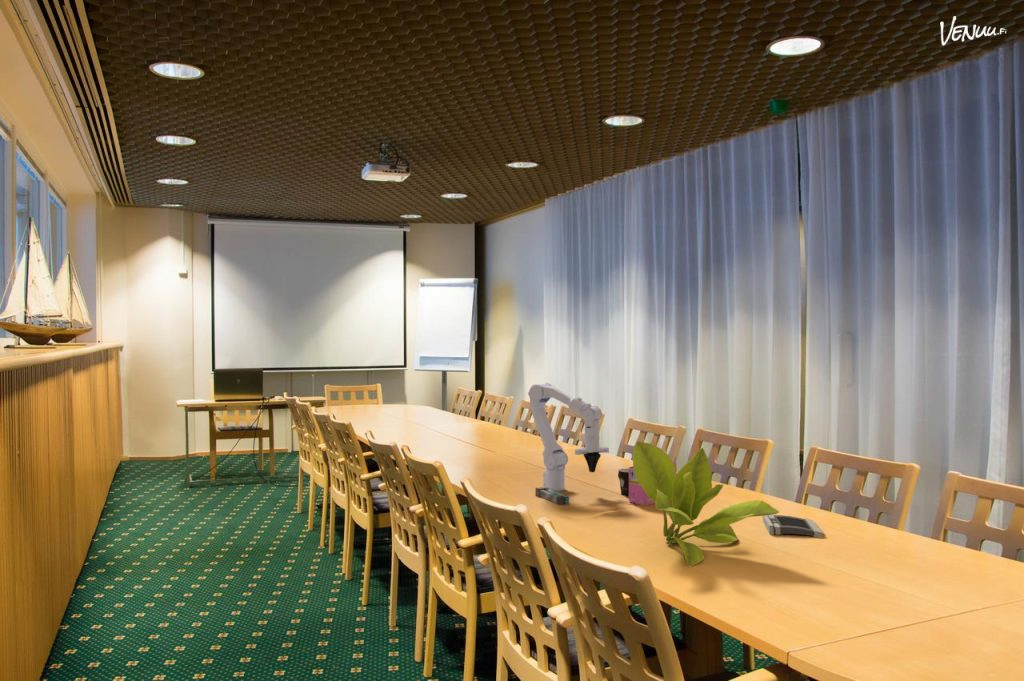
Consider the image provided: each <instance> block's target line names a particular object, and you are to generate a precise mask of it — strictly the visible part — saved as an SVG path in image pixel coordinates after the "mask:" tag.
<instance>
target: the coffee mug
mask: <svg viewBox="0 0 1024 681" xmlns="http://www.w3.org/2000/svg"><path fill="white" fill-rule="evenodd" d="M617 471H618V473H617V477H618V480H619V486H620V493H621V494H620V495H621V496H624V497H625V496H626V497H629V467H627V468H620V469H618V470H617Z"/></svg>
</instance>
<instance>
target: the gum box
mask: <svg viewBox="0 0 1024 681" xmlns="http://www.w3.org/2000/svg"><path fill="white" fill-rule="evenodd" d="M673 465H674V469H675V477H676V475H677V473H678V471H677V462H676V461H674V462H673ZM628 468H629V496H628V502H630V503H629V504H632V503H635V504H634V505H638V504H641V505H640V506H644V505H646V506H648V504H650V505H653V504H655V503H654V502H653V500H651V499H650V498H649V497H648V496H647V494H646V493H645V491H644V490H643V488H642V486H641V485H640V483H639V482H638V480H637V478H636V476H635V472H634V468H633V466H630V467H628ZM652 503H653V504H652Z"/></svg>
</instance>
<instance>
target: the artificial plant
mask: <svg viewBox="0 0 1024 681" xmlns="http://www.w3.org/2000/svg"><path fill="white" fill-rule="evenodd" d="M634 445H635V446H634V447H633V452H632V467H633V468H634V472H635V476H636V478H637V480H638V482H639V483H640V485H641V486H642V488H643V490H644V491H645V493H646V494H647V496H648V497H649V498H650V499H651V500H653V502H654V503H653V504H655V508H656V510H659V511H662V513H663V528H662V529H663V531H662V532H663V536H664V537H666V538H665V540H666V542H665V544H666V545H670V544H672V543H674V544H675V543H676V544H678V545H679V546H680V548H681V550H682V552H683V554H684V558H685V561H686V564H687V566H688V567H689V566H691V567H693V566H695V565H696V564H698V563H700V562H702V561H703V560H704V558H705V557H704V553H703V551H702V549H701V548H700V547H699V546H697V545H696V544H694V543H691V542H689V541H684V540H686V539H690V538H692V537H695V538H698V539H701V540H704V541H706V542H709V543H715V544H716V543H717V544H726V543H727V544H729V543H733V542H735V541H736V542H737V541H739V538H738V536H737V535H736V533H735V531H734V529H733V527H732V526H731V525H732V524H735V523H737V522H739V521H742V520H744V519H747V518H751V517H763V516H765V515H778V513H779V514H780V510H778V509H777V508H776V507H775V508H774V507H773V506H772V505H770V504H769V503H767V502H766V501H763V500H759V499H758V500H757V499H755V500H747V501H745V502H744V501H743V502H739V503H735V504H732V505H729V506H727V507H724V508H722V509H721V510H719V511H718V512H717V513H715V514H713V515H712V516H710V517H709V518H706V519H703V520H702V521H701V522H699V523H698V524H697V525H694V521H695V520H697V519H698V517H699V515H700V513H701V511H702V510H703V507H704V506H706V504H708V503H709V502H710V501H712V500H713V499H715V498H716V497H717V496H718V495H719V493H720V492H721V490H723V488H724V484H720V483H719V484H716V485H714V486H713V483H712V482H713V481H712V480H713V479H712V478H713V477H712V476H713V475H712V474H713V472H712V469H711V465H710V462H709V458H708V456H707V454H706V451H705V449H704V448H703V447H701V448H700V449H699V450H698V451H697V452H695V454H694V455H693V456H692V458H691V459H690V460H689V461H687V462H686V463H685V464H684V465H682V467H681V468H680V469H679V470H678V471H677V475H676V477H675V469H674V465H673V463H674V462H673V461H672V459H671V458H670V456H669V455H668V454H667V453H666V452H665V451H664V450H663V448H660V447H658V446H656V445H654V444H651V443H648V442H644V441H639V440H638V441H636V443H635V444H634ZM667 514H668V516H669V518H670V520H671V522H672V523H671V524H670V525H668V516H667ZM692 525H693V526H692ZM668 526H669V527H668ZM676 526H677V527H676ZM682 526H683V527H684V526H692V527H690V528H688V529H685V530H683V531H681V532H680V529H681V527H682ZM675 527H676V528H675ZM690 532H693V533H692V534H689V535H686V534H688V533H690ZM685 535H686V536H685Z"/></svg>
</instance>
